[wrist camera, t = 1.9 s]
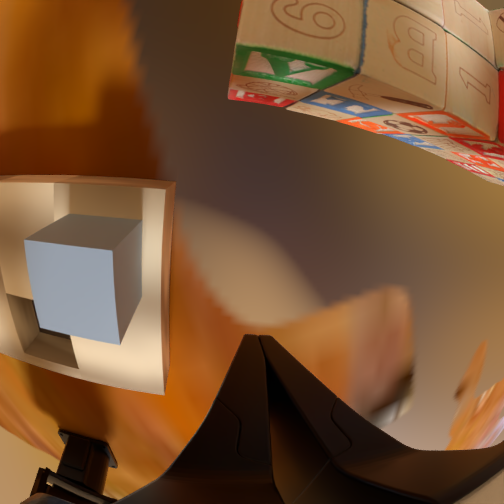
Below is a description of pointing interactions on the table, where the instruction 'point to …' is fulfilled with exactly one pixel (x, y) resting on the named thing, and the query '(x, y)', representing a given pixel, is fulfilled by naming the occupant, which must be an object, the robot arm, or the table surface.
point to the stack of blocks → (383, 70)
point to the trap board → (153, 277)
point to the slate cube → (86, 275)
